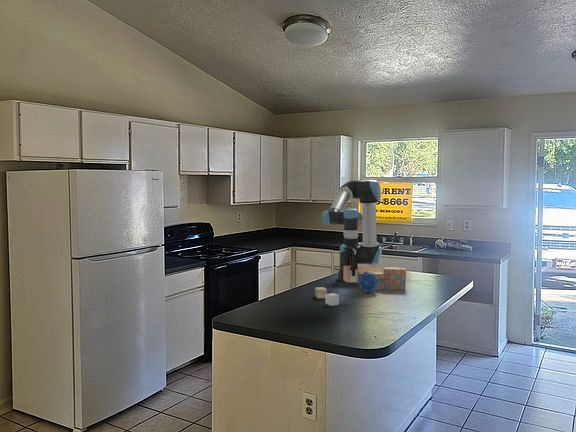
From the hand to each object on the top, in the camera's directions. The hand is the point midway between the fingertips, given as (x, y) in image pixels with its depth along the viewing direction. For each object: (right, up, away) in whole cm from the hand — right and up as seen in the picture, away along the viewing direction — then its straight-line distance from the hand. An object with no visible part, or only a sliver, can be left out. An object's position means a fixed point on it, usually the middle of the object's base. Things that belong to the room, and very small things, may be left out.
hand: (350, 280), depth 270 cm
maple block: (-16, -10, +5) cm, 19 cm away
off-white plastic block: (-11, -11, -10) cm, 19 cm away
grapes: (+11, -9, +16) cm, 22 cm away
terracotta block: (0, 0, 0) cm, 0 cm away
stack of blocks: (+25, -9, +28) cm, 38 cm away
